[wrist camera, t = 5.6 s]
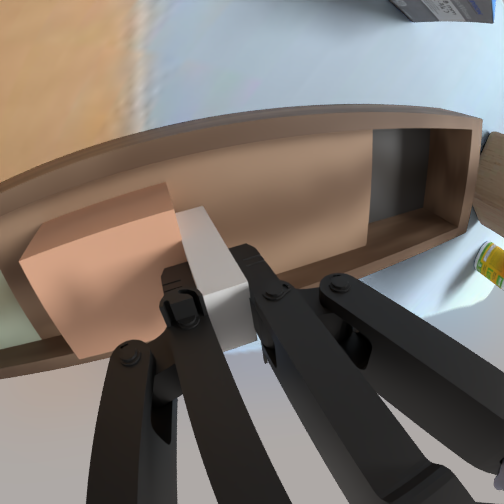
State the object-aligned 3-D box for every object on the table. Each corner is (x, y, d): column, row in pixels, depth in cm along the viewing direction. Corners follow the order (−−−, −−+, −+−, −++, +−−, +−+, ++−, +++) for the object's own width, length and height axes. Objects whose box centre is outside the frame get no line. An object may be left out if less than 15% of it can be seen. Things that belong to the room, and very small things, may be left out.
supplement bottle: (471, 260, 37) (516, 293, 29) (488, 234, 36) (532, 264, 28) (475, 273, 40) (514, 304, 32) (490, 249, 39) (530, 278, 31)
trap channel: (-95, 240, 10) (-125, 273, 6) (439, 108, 21) (482, 119, 17) (-37, 344, 15) (-51, 385, 11) (430, 211, 27) (466, 232, 23)
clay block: (42, 222, 12) (18, 261, 9) (165, 181, 14) (174, 209, 11) (85, 310, 16) (79, 359, 12) (191, 278, 17) (206, 323, 14)
